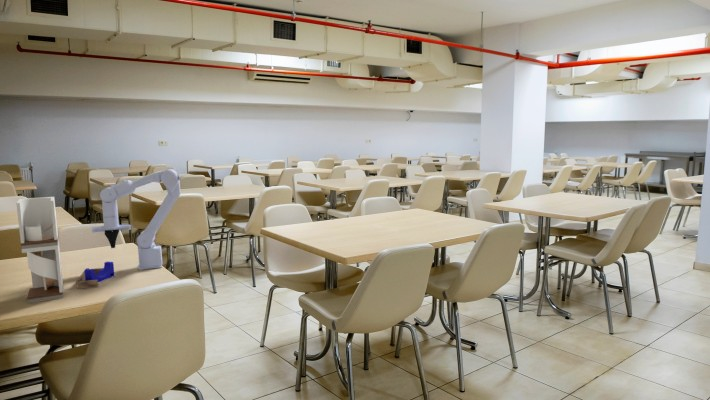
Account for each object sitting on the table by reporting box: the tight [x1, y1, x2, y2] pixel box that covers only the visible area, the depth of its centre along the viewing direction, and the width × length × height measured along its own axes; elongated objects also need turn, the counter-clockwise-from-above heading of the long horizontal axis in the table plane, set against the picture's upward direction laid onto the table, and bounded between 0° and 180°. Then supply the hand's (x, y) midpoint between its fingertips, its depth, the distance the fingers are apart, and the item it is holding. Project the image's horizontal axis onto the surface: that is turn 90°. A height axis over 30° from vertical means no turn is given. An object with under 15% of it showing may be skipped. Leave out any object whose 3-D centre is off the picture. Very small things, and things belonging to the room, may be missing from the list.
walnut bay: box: [76, 267, 104, 289], centre depth 197 cm, size 7×18×3 cm, turn 18°
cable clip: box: [83, 261, 115, 283], centre depth 198 cm, size 12×4×6 cm, turn 166°
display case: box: [16, 196, 64, 304], centre depth 178 cm, size 11×11×35 cm
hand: (113, 247), depth 212 cm, fingers closed
